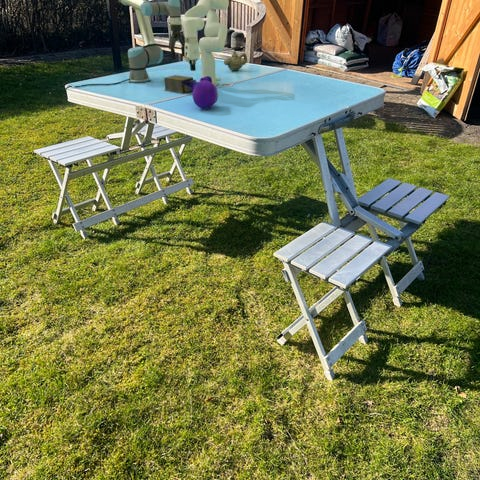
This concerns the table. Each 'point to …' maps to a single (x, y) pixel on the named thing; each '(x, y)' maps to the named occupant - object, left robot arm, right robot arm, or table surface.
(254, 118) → the table surface
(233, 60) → the teapot
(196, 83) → the toy
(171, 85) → the brown block
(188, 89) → the drawer
